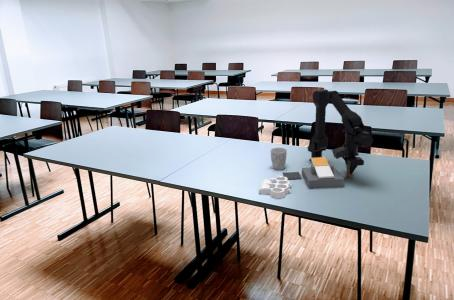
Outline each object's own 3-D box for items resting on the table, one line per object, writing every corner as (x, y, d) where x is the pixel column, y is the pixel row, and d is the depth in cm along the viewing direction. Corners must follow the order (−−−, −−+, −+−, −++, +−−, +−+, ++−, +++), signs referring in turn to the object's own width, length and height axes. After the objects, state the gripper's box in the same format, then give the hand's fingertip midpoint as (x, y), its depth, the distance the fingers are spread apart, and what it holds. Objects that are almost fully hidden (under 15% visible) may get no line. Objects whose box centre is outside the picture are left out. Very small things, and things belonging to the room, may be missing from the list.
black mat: (282, 173, 177) (282, 172, 177) (298, 172, 177) (298, 171, 177) (285, 180, 169) (285, 178, 169) (301, 179, 169) (301, 178, 169)
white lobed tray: (263, 181, 170) (293, 183, 166) (257, 197, 154) (290, 200, 150) (263, 175, 169) (294, 176, 165) (257, 190, 153) (290, 193, 149)
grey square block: (301, 175, 174) (301, 160, 172) (333, 173, 174) (334, 158, 171) (308, 188, 159) (309, 172, 156) (343, 186, 159) (344, 171, 156)
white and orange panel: (311, 159, 171) (311, 157, 170) (325, 158, 171) (325, 156, 170) (318, 178, 158) (318, 176, 158) (333, 177, 158) (334, 175, 157)
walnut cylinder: (345, 176, 169) (346, 159, 167) (351, 176, 169) (352, 158, 167) (347, 178, 167) (348, 161, 164) (353, 178, 167) (354, 161, 164)
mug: (277, 162, 193) (277, 145, 190) (291, 164, 188) (291, 147, 185) (268, 168, 184) (267, 151, 181) (282, 171, 180) (282, 153, 177)
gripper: (328, 137, 171) (327, 166, 176) (340, 149, 154) (338, 181, 159) (351, 136, 171) (349, 165, 176) (365, 147, 153) (363, 180, 158)
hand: (349, 172), depth 167 cm, fingers open, 3 cm apart
